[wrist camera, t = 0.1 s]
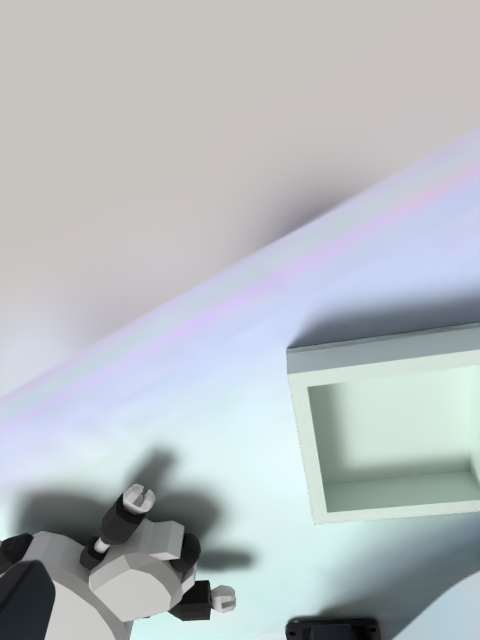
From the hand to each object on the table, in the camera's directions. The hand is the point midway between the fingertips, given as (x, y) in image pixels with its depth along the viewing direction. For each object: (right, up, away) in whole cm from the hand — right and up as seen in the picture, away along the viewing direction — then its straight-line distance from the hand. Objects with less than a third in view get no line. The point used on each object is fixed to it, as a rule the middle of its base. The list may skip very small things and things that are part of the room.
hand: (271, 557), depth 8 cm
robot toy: (-9, -12, +22) cm, 27 cm away
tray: (+7, -1, +16) cm, 17 cm away
